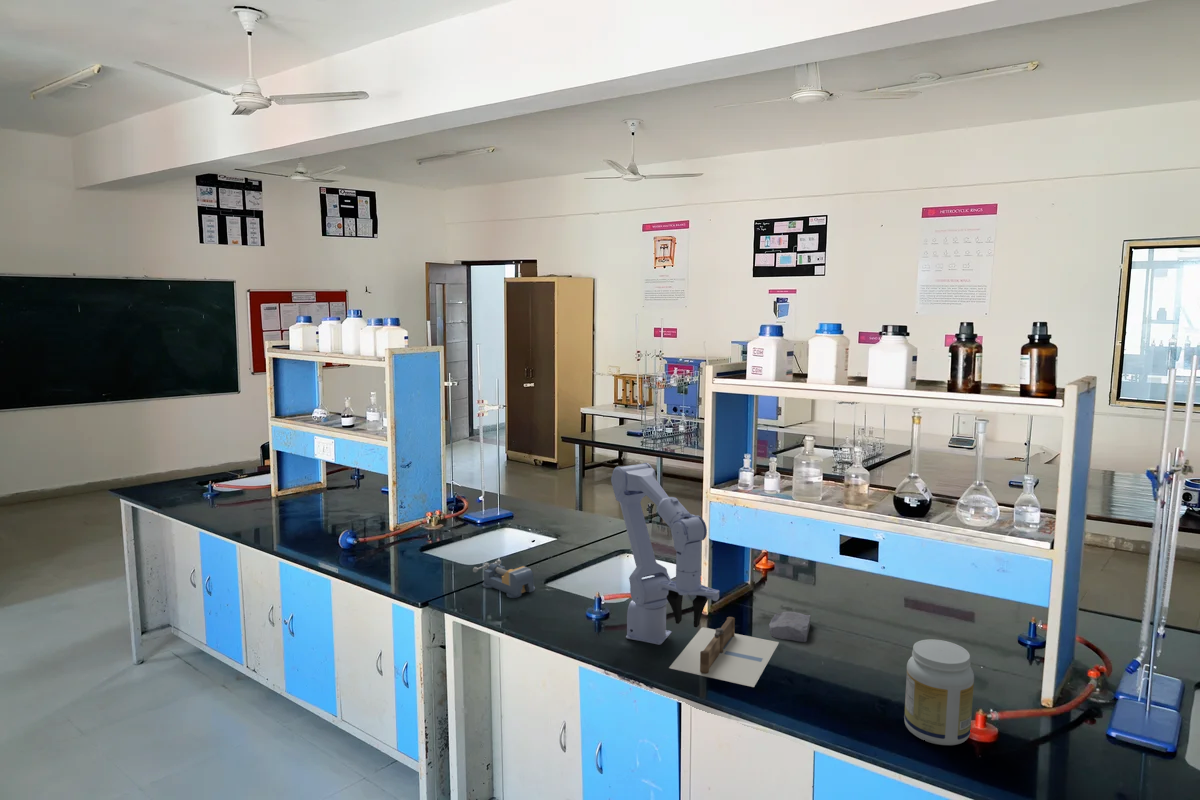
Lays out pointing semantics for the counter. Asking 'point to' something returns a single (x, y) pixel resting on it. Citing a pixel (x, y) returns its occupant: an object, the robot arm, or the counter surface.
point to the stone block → (790, 626)
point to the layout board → (728, 658)
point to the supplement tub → (939, 692)
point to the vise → (507, 579)
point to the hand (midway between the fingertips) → (687, 623)
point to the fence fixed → (727, 632)
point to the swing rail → (710, 652)
